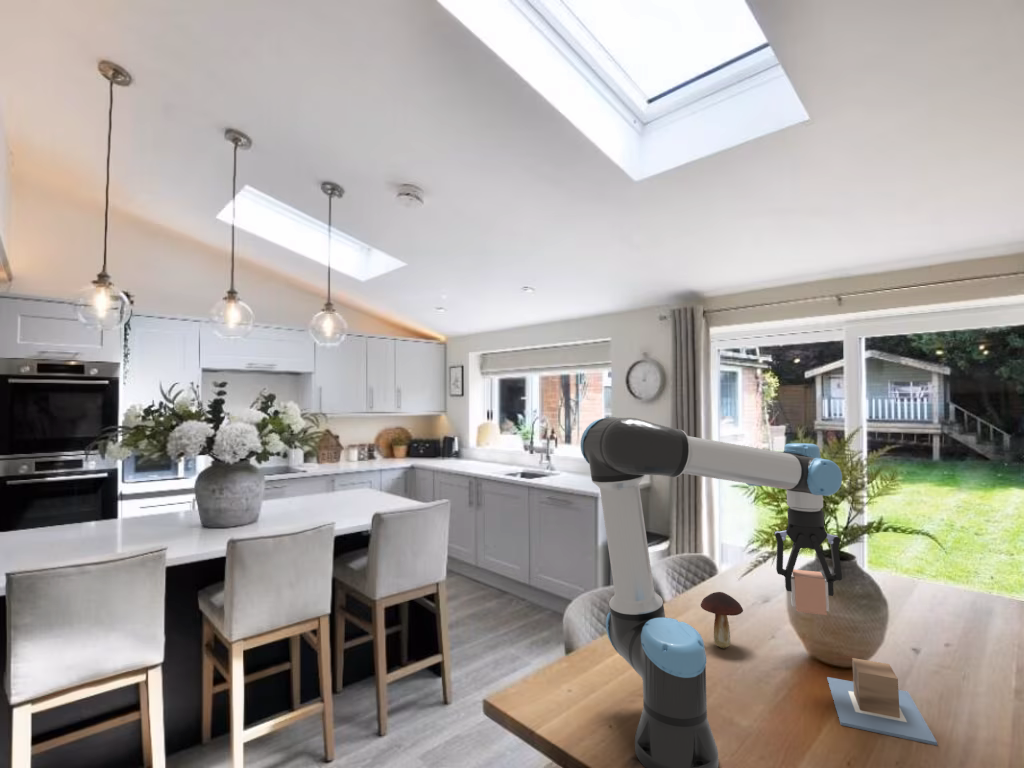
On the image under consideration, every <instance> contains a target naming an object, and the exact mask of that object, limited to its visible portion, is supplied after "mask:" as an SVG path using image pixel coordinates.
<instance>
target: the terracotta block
mask: <svg viewBox="0 0 1024 768" xmlns="http://www.w3.org/2000/svg"><path fill="white" fill-rule="evenodd" d="M822 573H823V572H821V571H813V570H804V569H803V570H801V569H795V568H794V569H793V573H792V576H794V579H795V599H796V607H795V609H796V612H799V613H807V614H812V615H813V614H814V615H820V616H821V615H822V616H828V614H827V612H828V611H826V593H825V579H826V578H825V577H824V575H823V574H822Z"/></svg>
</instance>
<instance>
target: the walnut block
mask: <svg viewBox="0 0 1024 768" xmlns="http://www.w3.org/2000/svg"><path fill="white" fill-rule="evenodd" d="M851 660H852V661H851V662H852V682H853V684H854V695H855V698H856V701H857V703H858V706H859V708H860V710H861V711H866V712H871V713H876V714H882V715H887V716H892V717H897V718H900V710H899V691H898V690H899V678H898V677H897V675H896V673H895V671H894V670H893V668H892V666H891V664H890V663H885V662H877V661H873V660H866V659H861V658H860V659H859V658H855V657H852V658H851Z"/></svg>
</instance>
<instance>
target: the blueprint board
mask: <svg viewBox="0 0 1024 768" xmlns="http://www.w3.org/2000/svg"><path fill="white" fill-rule="evenodd" d="M826 679H827V682H828V683H829V684H828V683H827V684H828V686H829V691H830V690H831V691H830V694H831V696H832V700H834V701H833V703H834V707H835V710H836V714H837V717H839V718H838V720H839V724H840V726H844V727H849V728H853V729H856V730H857V729H858V730H861V731H868V732H871V733H872V732H873V733H877V734H881V735H885V736H891V737H896V738H900V739H904V740H909V741H914V742H919V743H923V744H928V745H933V746H938V741H937V739H936V738H935V736H934V734H933V732H932V731H931V729H930V727H929V725H928V724H927V722H926V721H925V719H924V717H923V715H922V713H921V711H920V710H919V708H918V706H917V705H916V703H915V701H914V699H913V697H912V696H911V694H910V692H909V691H907V690H901V689H898V691H899V710H900V718H897V717H892V716H887V715H882V714H876V713H871V712H866V711H861V710H860V708H859V706H858V703H857V701H856V698H855V695H854V684H853V680H851V681H850V680H847V679H846V680H845V679H840V678H835V677H829V676H827V677H826Z"/></svg>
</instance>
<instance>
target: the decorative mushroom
mask: <svg viewBox="0 0 1024 768" xmlns="http://www.w3.org/2000/svg"><path fill="white" fill-rule="evenodd" d="M700 608H701V609H702V610H703V611H705V612H708V613H712V614H714V622H713V623H714V624H713V640H714V643H715V645H716V646H717V647H719V648H720V649H726V648H728V647H729V646H730V644H731V631H730V623H729V619H728V616H732V617H733V616H739V615H741V614H742V613H744V612H743V611H744V608H743V607H742V605H741V604H740V602H738V601H737V600H736V599H735V598H734V597H733V596H731V595H729V594H727V593H726V592H723V591H716V592H711V593H710V594H708V595H706V596H705V597H704V598H703V599H702V600H701V602H700Z"/></svg>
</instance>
